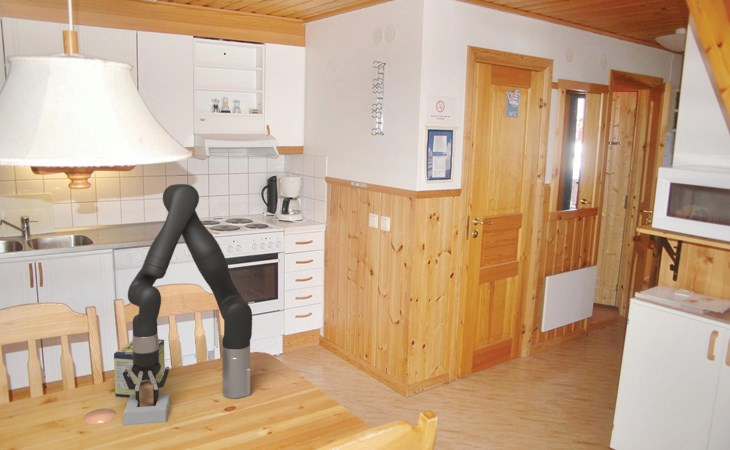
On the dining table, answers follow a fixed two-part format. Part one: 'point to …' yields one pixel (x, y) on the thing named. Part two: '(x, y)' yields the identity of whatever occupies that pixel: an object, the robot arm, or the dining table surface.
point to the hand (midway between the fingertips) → (147, 400)
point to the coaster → (99, 416)
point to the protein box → (125, 361)
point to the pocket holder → (146, 411)
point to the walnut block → (146, 394)
